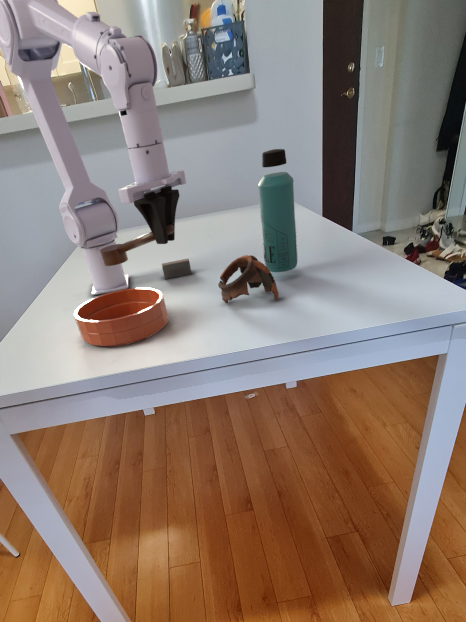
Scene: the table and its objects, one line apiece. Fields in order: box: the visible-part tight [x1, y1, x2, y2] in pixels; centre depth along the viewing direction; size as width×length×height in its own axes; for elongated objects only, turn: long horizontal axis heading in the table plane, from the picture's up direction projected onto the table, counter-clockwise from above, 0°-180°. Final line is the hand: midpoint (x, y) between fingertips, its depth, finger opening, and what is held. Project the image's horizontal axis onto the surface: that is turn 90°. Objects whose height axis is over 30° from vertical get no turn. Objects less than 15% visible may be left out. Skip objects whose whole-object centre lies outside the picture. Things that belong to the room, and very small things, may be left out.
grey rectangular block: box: [161, 258, 192, 280], centre depth 99 cm, size 2×6×3 cm, turn 100°
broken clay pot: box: [217, 254, 280, 304], centre depth 81 cm, size 12×10×8 cm
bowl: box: [73, 287, 169, 347], centre depth 78 cm, size 15×15×4 cm
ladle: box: [100, 224, 174, 266], centre depth 84 cm, size 19×5×6 cm, turn 57°
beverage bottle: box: [257, 148, 299, 273], centre depth 83 cm, size 6×7×20 cm
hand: (165, 241), depth 80 cm, fingers closed on ladle
